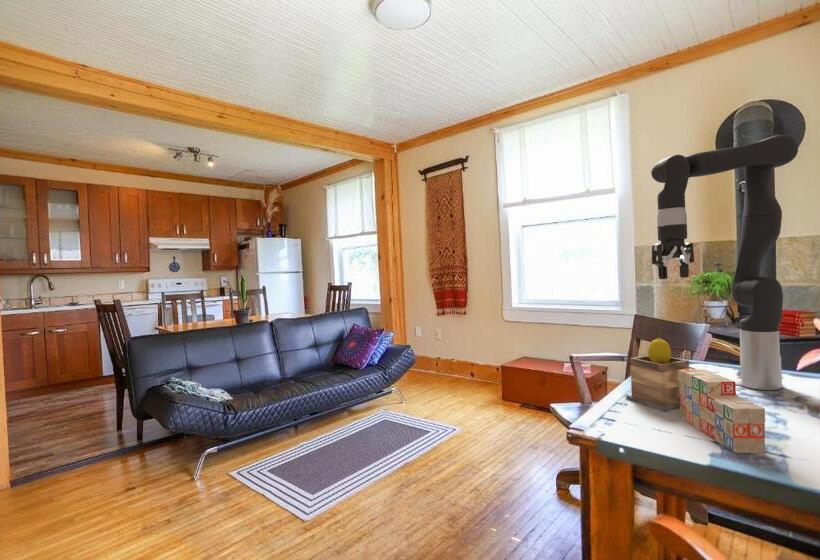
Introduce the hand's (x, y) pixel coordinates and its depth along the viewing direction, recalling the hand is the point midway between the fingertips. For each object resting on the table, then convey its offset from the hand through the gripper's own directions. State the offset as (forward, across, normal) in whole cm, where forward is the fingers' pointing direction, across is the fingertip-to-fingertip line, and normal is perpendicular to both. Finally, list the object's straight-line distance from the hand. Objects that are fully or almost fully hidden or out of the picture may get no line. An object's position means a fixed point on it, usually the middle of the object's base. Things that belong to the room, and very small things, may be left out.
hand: (673, 278), depth 126 cm
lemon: (+24, +13, +5) cm, 28 cm away
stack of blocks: (+34, +20, +26) cm, 48 cm away
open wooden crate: (+34, +13, +5) cm, 37 cm away
